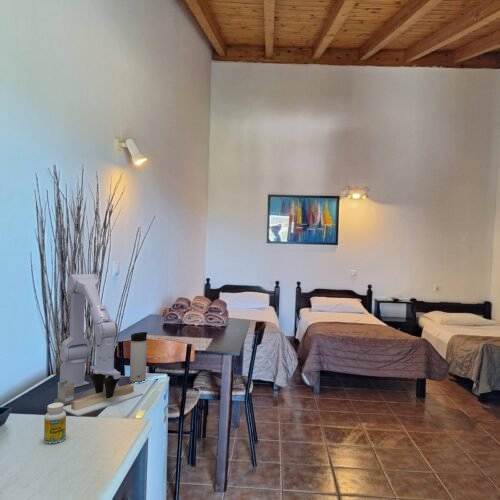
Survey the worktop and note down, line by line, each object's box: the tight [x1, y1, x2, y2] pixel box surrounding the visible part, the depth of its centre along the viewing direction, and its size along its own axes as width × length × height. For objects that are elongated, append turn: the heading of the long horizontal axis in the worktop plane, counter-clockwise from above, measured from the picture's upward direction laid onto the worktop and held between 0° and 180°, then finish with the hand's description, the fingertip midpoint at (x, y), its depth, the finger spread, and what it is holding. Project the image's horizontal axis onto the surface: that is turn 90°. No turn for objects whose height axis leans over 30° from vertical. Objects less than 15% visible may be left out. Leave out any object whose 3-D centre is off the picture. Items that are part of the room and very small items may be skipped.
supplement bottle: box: [43, 402, 67, 445], centre depth 111 cm, size 5×5×10 cm
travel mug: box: [129, 331, 148, 384], centre depth 164 cm, size 6×7×20 cm
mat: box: [63, 389, 144, 417], centre depth 141 cm, size 10×26×1 cm, turn 145°
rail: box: [71, 383, 135, 411], centre depth 141 cm, size 2×23×2 cm, turn 144°
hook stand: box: [53, 376, 121, 406], centre depth 146 cm, size 6×23×7 cm, turn 145°
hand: (104, 395), depth 141 cm, fingers open, 5 cm apart
